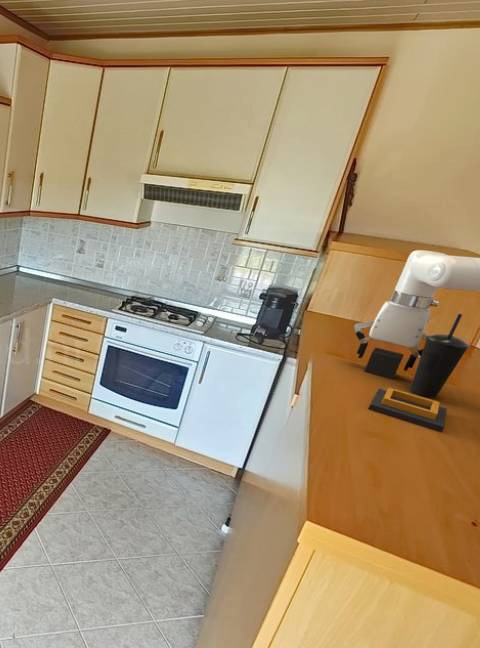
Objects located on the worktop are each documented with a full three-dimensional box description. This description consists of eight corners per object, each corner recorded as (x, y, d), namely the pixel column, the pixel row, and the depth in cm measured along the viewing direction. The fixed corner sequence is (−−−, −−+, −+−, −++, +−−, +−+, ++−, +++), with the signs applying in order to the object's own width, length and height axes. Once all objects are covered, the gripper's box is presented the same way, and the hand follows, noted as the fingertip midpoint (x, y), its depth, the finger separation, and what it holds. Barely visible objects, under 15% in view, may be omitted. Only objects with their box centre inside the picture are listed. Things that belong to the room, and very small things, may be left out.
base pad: (441, 432, 97) (447, 420, 96) (368, 408, 105) (373, 397, 104) (444, 413, 107) (449, 402, 106) (376, 393, 115) (381, 382, 114)
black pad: (392, 379, 125) (401, 359, 123) (364, 371, 129) (372, 351, 127) (395, 373, 129) (404, 354, 127) (367, 366, 133) (375, 347, 131)
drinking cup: (450, 404, 112) (491, 321, 105) (410, 396, 115) (448, 315, 108) (434, 391, 119) (472, 313, 112) (396, 384, 122) (431, 307, 114)
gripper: (456, 307, 119) (425, 371, 126) (370, 290, 130) (345, 350, 137) (455, 312, 114) (423, 378, 120) (365, 294, 125) (340, 355, 132)
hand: (382, 363), depth 129 cm, fingers open, 9 cm apart
